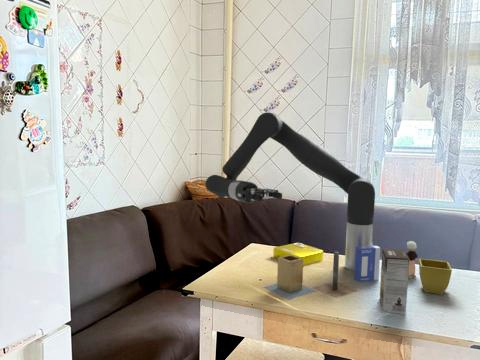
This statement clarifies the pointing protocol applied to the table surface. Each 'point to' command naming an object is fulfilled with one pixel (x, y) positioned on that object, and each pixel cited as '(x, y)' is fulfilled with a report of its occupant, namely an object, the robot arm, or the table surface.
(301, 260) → the bronze sleeve
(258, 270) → the table surface
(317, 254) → the element tile
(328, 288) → the walnut stand
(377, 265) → the walkman
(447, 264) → the flower pot
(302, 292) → the blue peg stand
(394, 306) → the coffee box
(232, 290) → the table surface
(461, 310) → the table surface
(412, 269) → the grandmother figurine
